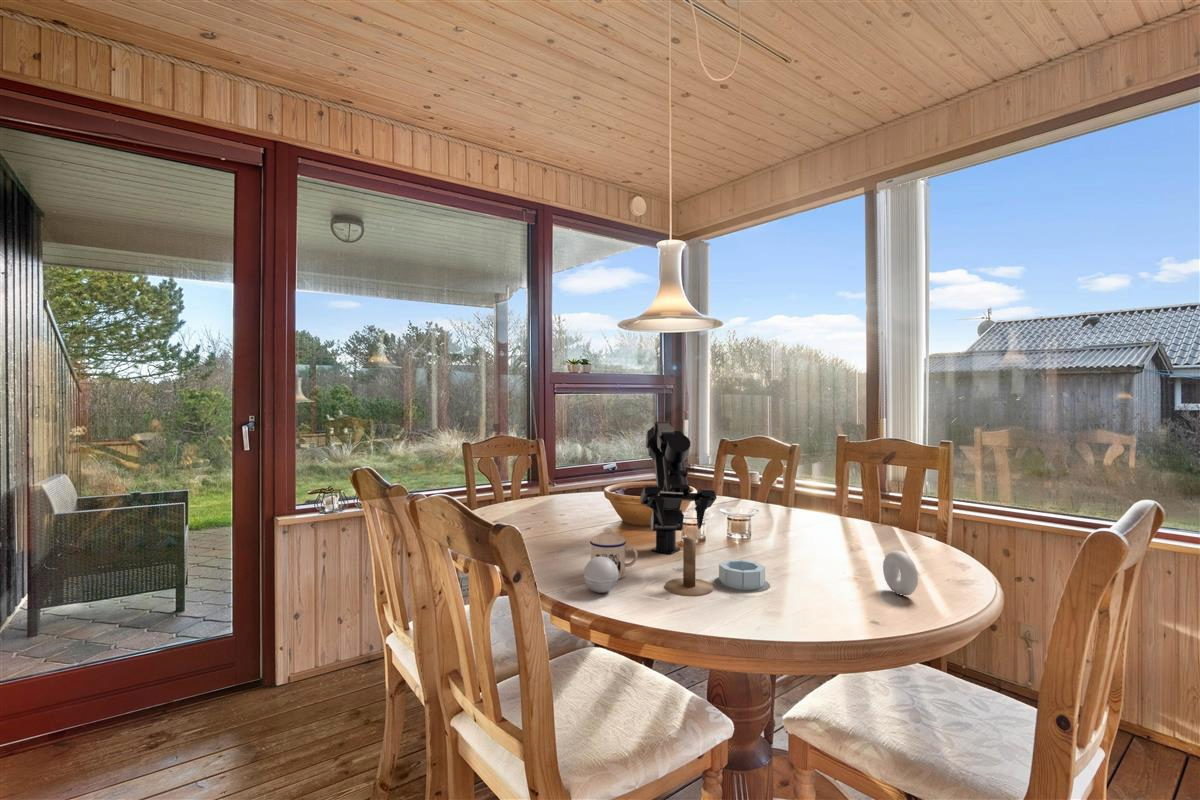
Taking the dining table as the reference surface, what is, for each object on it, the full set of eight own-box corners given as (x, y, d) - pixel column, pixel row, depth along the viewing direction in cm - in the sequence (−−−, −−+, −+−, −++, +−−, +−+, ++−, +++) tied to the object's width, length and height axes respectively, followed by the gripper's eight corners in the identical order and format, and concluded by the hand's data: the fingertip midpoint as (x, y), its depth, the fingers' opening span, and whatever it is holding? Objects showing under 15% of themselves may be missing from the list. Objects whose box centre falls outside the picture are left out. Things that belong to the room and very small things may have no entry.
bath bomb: (620, 587, 133) (620, 553, 133) (615, 598, 125) (616, 562, 125) (587, 585, 134) (587, 551, 134) (580, 596, 126) (580, 560, 126)
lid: (678, 579, 139) (678, 530, 139) (720, 587, 133) (720, 536, 133) (657, 591, 130) (657, 539, 130) (701, 601, 124) (701, 546, 124)
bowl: (729, 574, 142) (729, 557, 142) (769, 581, 136) (769, 564, 136) (713, 585, 133) (713, 567, 133) (755, 593, 128) (755, 574, 128)
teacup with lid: (588, 581, 137) (588, 533, 137) (590, 569, 146) (591, 524, 146) (637, 582, 137) (638, 533, 137) (637, 570, 146) (637, 525, 146)
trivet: (725, 573, 144) (725, 571, 144) (777, 582, 136) (777, 581, 136) (705, 587, 133) (705, 585, 133) (759, 598, 126) (759, 596, 126)
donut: (879, 587, 133) (879, 545, 133) (893, 587, 134) (893, 545, 134) (906, 603, 123) (906, 557, 123) (921, 602, 124) (921, 556, 124)
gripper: (699, 488, 157) (707, 542, 148) (634, 485, 154) (638, 539, 145) (712, 468, 148) (721, 524, 139) (643, 464, 146) (647, 520, 136)
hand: (681, 527), depth 140 cm, fingers open, 9 cm apart
